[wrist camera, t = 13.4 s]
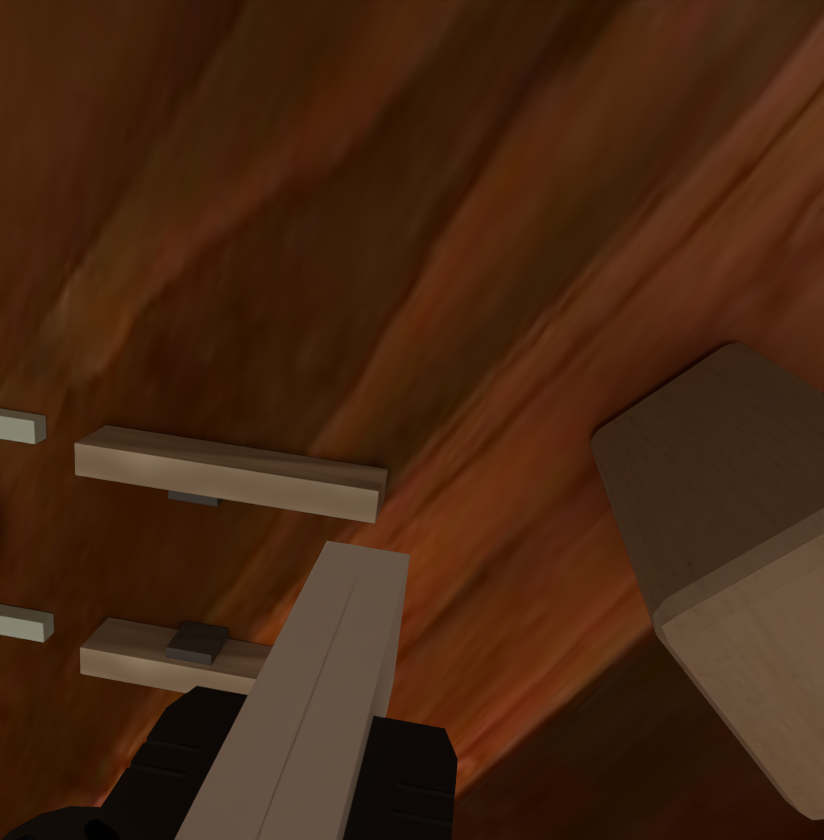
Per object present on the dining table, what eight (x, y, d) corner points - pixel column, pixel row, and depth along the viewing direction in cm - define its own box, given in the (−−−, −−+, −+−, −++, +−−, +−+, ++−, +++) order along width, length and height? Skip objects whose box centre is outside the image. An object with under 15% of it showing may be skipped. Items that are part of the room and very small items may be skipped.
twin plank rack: (106, 425, 45) (74, 443, 42) (387, 469, 44) (378, 491, 41) (108, 642, 50) (80, 673, 47) (362, 687, 49) (352, 723, 46)
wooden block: (677, 562, 44) (812, 843, 25) (580, 434, 42) (645, 630, 23) (832, 471, 41) (1119, 708, 22) (735, 331, 39) (954, 456, 20)
